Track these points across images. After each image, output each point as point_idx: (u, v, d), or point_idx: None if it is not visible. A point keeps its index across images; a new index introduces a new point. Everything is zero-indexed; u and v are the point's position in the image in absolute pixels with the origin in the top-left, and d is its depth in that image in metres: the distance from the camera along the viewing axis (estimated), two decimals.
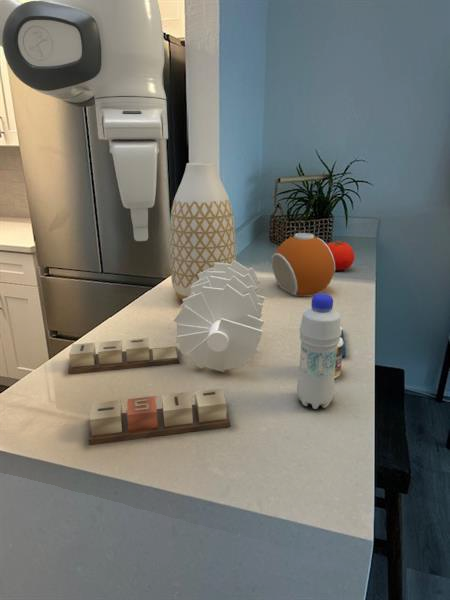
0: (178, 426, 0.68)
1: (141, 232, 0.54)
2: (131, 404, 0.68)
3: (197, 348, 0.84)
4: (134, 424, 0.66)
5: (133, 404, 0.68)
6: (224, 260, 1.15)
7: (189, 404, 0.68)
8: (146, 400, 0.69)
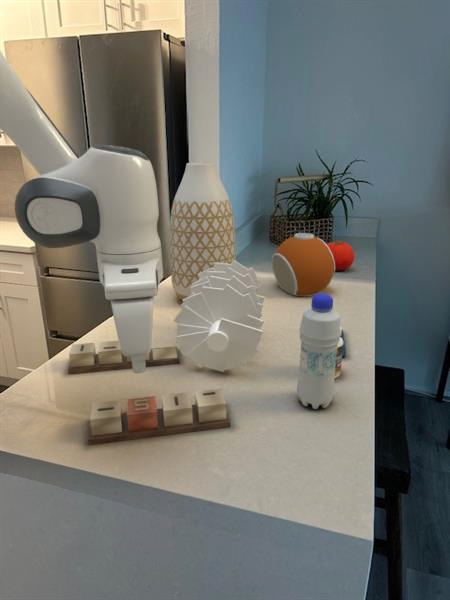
0: (178, 426, 0.68)
1: (139, 365, 0.60)
2: (131, 404, 0.68)
3: (197, 348, 0.84)
4: (134, 424, 0.66)
5: (133, 404, 0.68)
6: (224, 260, 1.15)
7: (189, 404, 0.68)
8: (146, 400, 0.69)
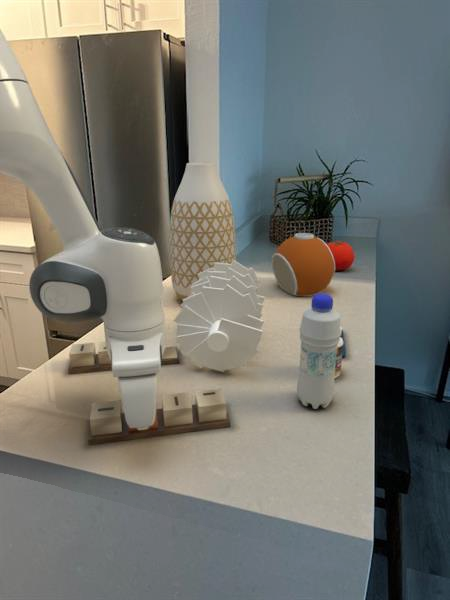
0: (178, 426, 0.68)
1: None
2: None
3: (197, 348, 0.84)
4: None
5: None
6: (224, 260, 1.15)
7: (189, 404, 0.68)
8: None
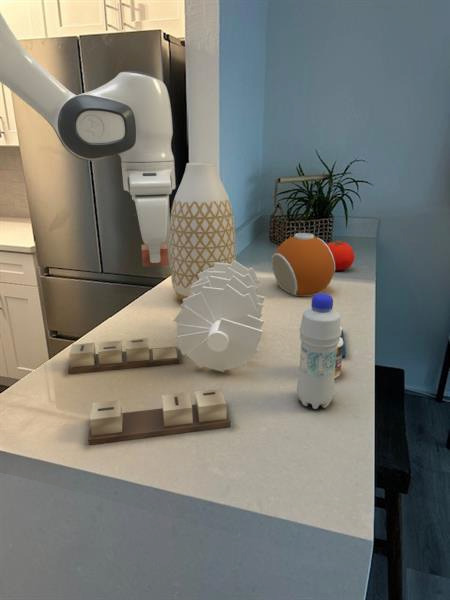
0: (178, 426, 0.68)
1: (155, 256, 0.75)
2: (145, 246, 0.78)
3: (197, 348, 0.84)
4: (148, 260, 0.76)
5: (146, 246, 0.78)
6: (224, 260, 1.15)
7: (189, 404, 0.68)
8: None
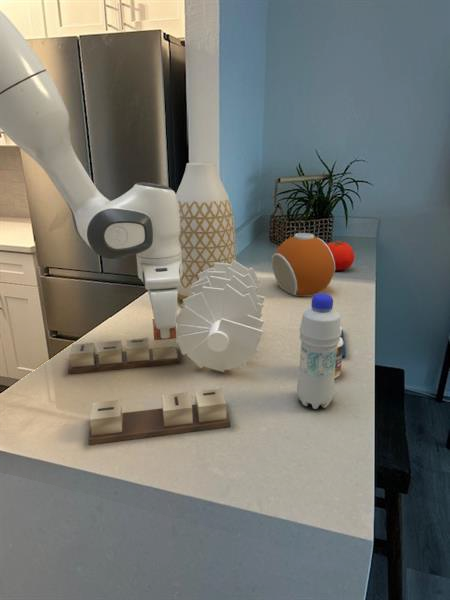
0: (178, 426, 0.68)
1: (165, 333, 0.86)
2: None
3: (197, 348, 0.84)
4: (159, 335, 0.87)
5: None
6: (224, 260, 1.15)
7: (189, 404, 0.68)
8: None
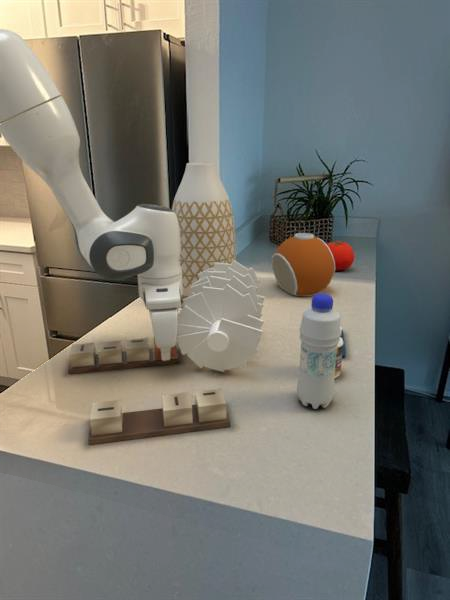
0: (178, 426, 0.68)
1: (166, 355, 0.85)
2: None
3: (197, 348, 0.84)
4: (159, 353, 0.89)
5: None
6: (224, 260, 1.15)
7: (189, 404, 0.68)
8: None
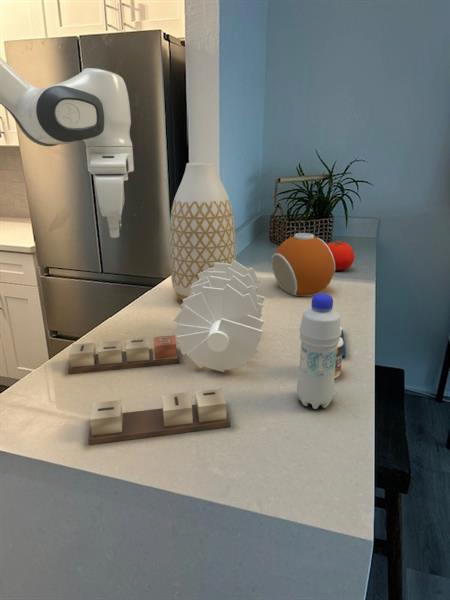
0: (178, 426, 0.68)
1: (114, 232, 0.84)
2: (156, 339, 0.90)
3: (197, 348, 0.84)
4: (159, 353, 0.89)
5: (158, 339, 0.90)
6: (224, 260, 1.15)
7: (189, 404, 0.68)
8: (167, 337, 0.91)
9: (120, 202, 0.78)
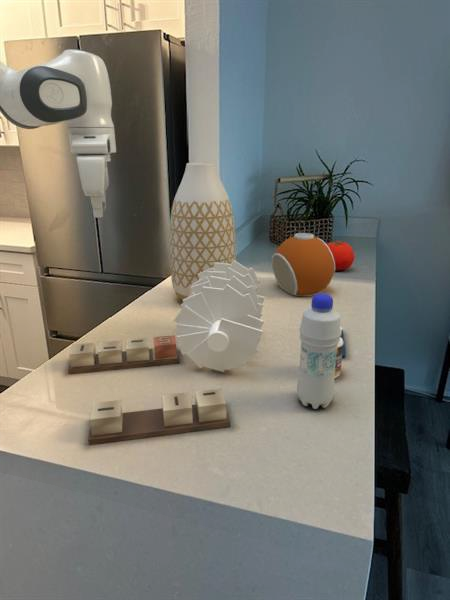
0: (178, 426, 0.68)
1: (98, 212, 0.85)
2: (156, 339, 0.90)
3: (197, 348, 0.84)
4: (159, 353, 0.89)
5: (158, 339, 0.90)
6: (224, 260, 1.15)
7: (189, 404, 0.68)
8: (167, 337, 0.91)
9: (102, 181, 0.79)
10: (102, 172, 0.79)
